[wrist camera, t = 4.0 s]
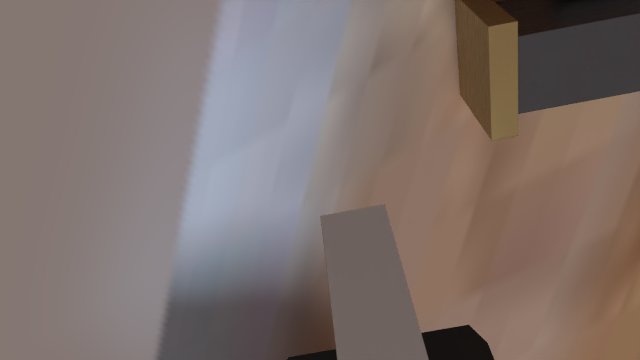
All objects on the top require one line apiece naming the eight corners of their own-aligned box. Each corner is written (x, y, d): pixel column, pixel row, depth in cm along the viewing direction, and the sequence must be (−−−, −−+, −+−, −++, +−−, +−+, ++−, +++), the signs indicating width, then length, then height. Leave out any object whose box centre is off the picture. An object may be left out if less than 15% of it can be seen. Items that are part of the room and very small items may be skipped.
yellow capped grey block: (459, 94, 27) (491, 140, 23) (454, -7, 24) (488, 26, 21) (619, 64, 27) (678, 105, 23) (629, -40, 24) (696, -13, 20)
